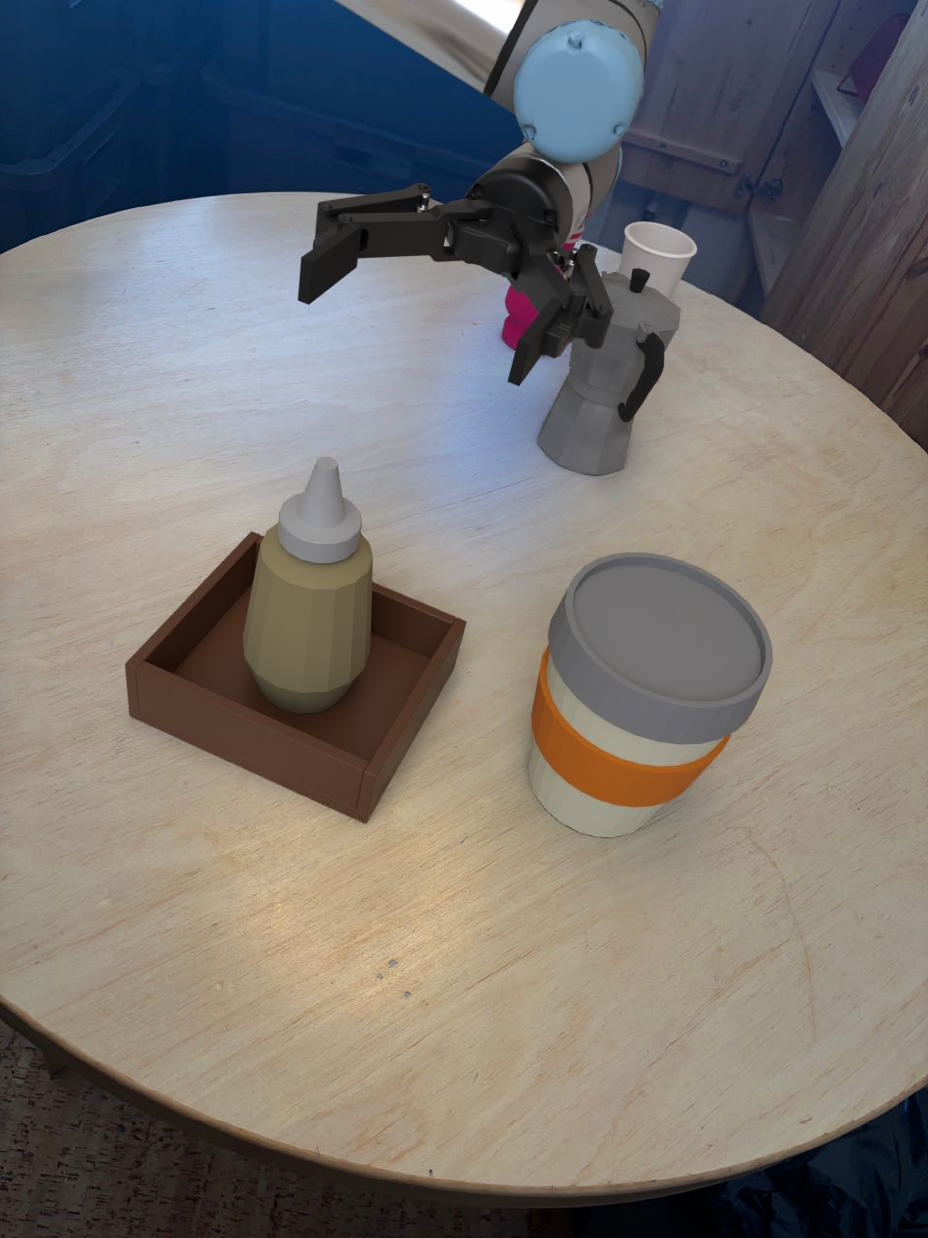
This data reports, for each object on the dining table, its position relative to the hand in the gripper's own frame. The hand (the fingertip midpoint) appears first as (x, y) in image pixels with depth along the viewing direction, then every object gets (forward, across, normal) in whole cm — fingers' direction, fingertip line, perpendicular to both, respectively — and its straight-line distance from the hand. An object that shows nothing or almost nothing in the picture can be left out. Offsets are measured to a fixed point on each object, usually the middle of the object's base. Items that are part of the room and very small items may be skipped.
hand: (409, 322), depth 55 cm
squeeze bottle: (+10, 0, -22) cm, 24 cm away
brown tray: (+10, 0, -23) cm, 25 cm away
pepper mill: (-47, +2, -23) cm, 52 cm away
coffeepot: (-30, -9, -23) cm, 39 cm away
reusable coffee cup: (+7, -20, -23) cm, 32 cm away
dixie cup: (-61, -6, -23) cm, 65 cm away
